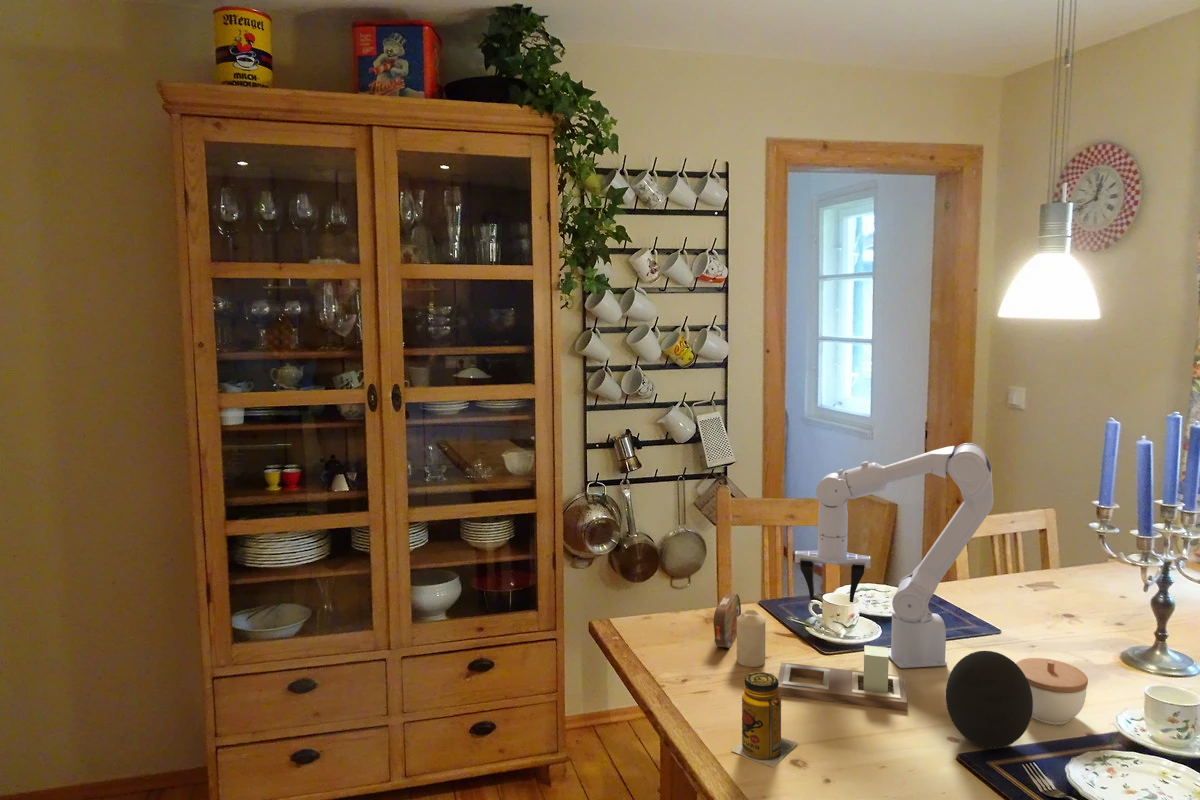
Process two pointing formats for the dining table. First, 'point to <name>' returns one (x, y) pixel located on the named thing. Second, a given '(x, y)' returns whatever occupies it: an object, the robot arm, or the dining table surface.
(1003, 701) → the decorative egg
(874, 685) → the peg
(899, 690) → the socket board
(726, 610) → the tin
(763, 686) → the condiment
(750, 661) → the candle
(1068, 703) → the lidded jar
